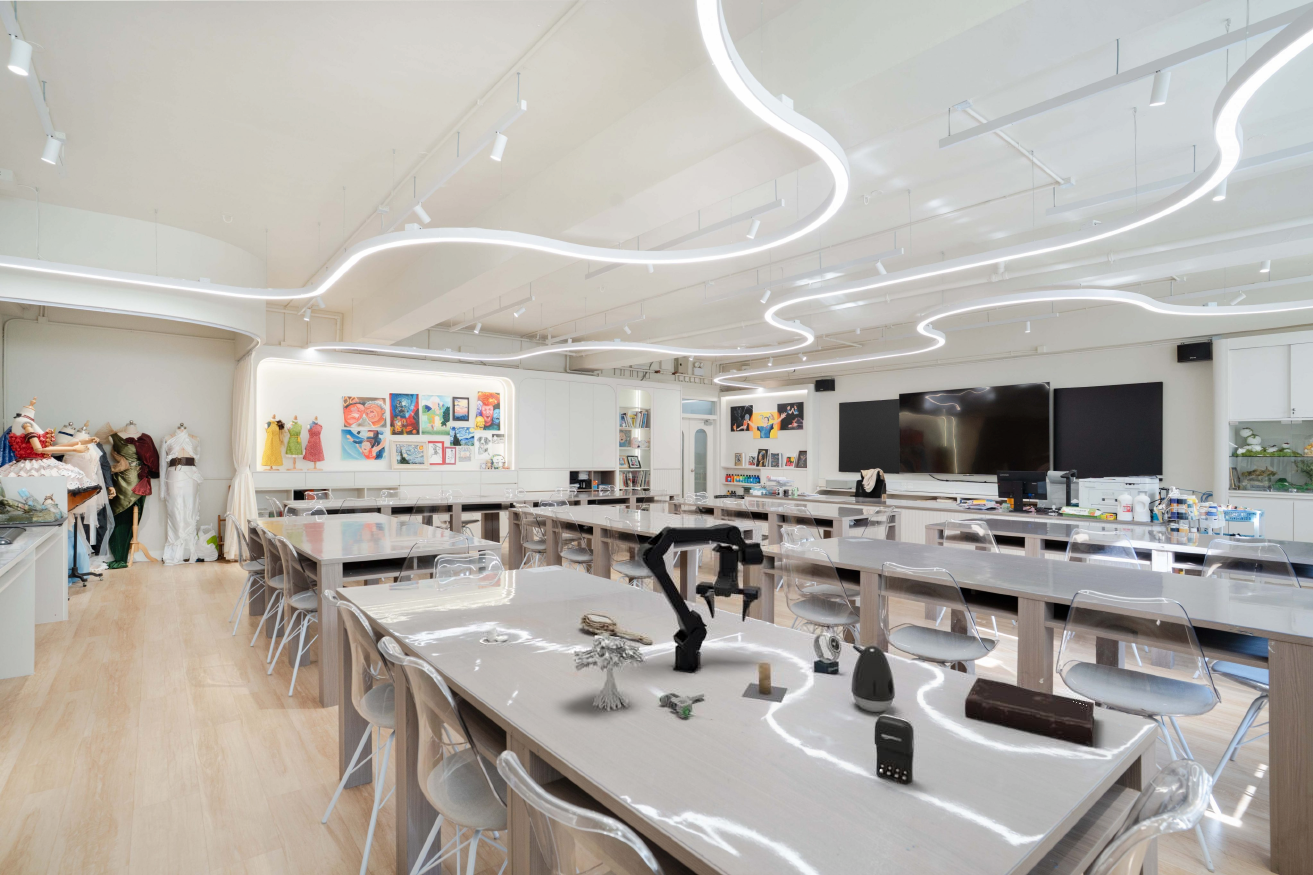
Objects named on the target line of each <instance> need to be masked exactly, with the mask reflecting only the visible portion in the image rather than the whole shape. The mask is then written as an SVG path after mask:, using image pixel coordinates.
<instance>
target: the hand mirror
mask: <svg viewBox="0 0 1313 875" xmlns="http://www.w3.org/2000/svg"><path fill="white" fill-rule="evenodd" d="M580 620H581V622H580V625H581V627H582V628H583V629H584V630H587V631H590V632H591V633H595V634H597V635H599V634H601V633H602V634H604V633H605V634H606V633H608V634H610V635H609V636H611V635H612V636H615V635H617V634H619V635H624V636H627V637H629V638H632V639H633V640H636V641H640V642H641V643H642V644H645V645H651V644H653V643H654V641H653V639H652V638H649V637H648V636H642V635H640V634H638V633H637V634H636V633H633V632H630V631H629V632H628V631H627V630H625V629H623V628H622V627H619V625H618V623H617V622H616V619H614V618H612V617H611V616H609V615H605V614H600V613H595V612H589V613H585V614H584V615H583V616H582V617H581V619H580Z"/></svg>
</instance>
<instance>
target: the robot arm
mask: <svg viewBox="0 0 1313 875" xmlns="http://www.w3.org/2000/svg"><path fill="white" fill-rule="evenodd" d="M675 542H715V543H716V545H715V546H713V547H712V548H711V551H712V552H714V553H718V571H717V578H716V579H715V581H714V583H713V582H711V581H710V582H709V581H700V582H699V583H698V584H697V585H696V586H695V594H696V595H699V597H700V598H703V599H704V601H705V603H706V605H707V608H708V611H709V613H710V616H711V619H715V610H716V608H715V597H723V598H730V597H731V596H732V595H738V596H739V595H741V596H743V597H744V598H743V600H742V602H743V603H742V604H743V606H742V616H741V617H742V622H743V623H744V622H745V620H746V619H747V618H746V617H747V614H748V612H749V609H750V606H751V605H752V603H754V602H756V600H757V601H758V600H760V598H761V597H762V588H761V587H760V586H757V585H756V586H755V585H747V586H746V587H744V588H741V587H740V584H739V573H740V572H739V563H740V564H741V566H742V567H747V566H748V567H751V566H752V567H753V566H762V565H763V563H764V560H765V555H764V553H763V552H764V551H763V549H762V547H761V543H760V542H758V541H755V542H748V543H747V542H746V540H745V539H744V538H743V536H742V532H741V529H740V528H739V527H738V526H736V525H733V524H730V523H725V522H724V523H718V524H714V525H711V526H706V527H705V526H704V527H703V526H699V527H698V526H693V527H692V526H690V527H689V526H688V527H687V526H684V527H683V526H681V527H680V526H673V527H672V526H669V525H668V526H665V527H663V528H662V529H661V530H660V531H659V532H658V533H656V534H655V535H654V536H653V537H652V538H650V539H649V540H648V541H647V542H646V543H644V544H641V545H640V546H638V548H637V550H636V552H635V554H636V555H635V556H636V559H637V560H638V562H640V564H641V565H642V566H643V567H644V568H645V569H646V570H647V572H649V574H651V576H652V577H653V578H654V580H655V582H656V583H657V585H658V587H659V588H660V590H661V591H662V593H663V595H664V597H665V599H666V600H667V602H668V603H669V606H670V607H671V609H672V610H673V612H674V614H675V615H676V619H677V624H678V627H679V629H678V630H677V631H676V632H675V634H673V636H672V637H673V638H672V639H673V641H674V643H675V644H676V645H675V648H674V652H675V653H674V655H675V656H674V657H675V658H674V666H673V667H672V670H674V671H679V672H686V673H687V672H688V673H695V672H696V671H697V670H698V669H700V667H701V655H702V653H701V652H700V650H701V647H702V644H703V641H705V640H706V638H707V634H708V630H707V628H706V627H708V626H707V624H706V623H705V622H704V620H703V618H702V616H701V614H700V613H698V612H697V611H696V610H694V609H692V610H690V608H689V606H688V605H687V603H686V601H685V600H684V598H683V596H682V595H681V593H680V591H679V590H678V588H677V587H676V585H675V583H674V581H673V580H672V578H671V576H670V574H669V572H668V571H667V566H666V560H665V559H664V556H665V555H667V553H668V552H669V550H670V549H671V546H672V545H673V544H674V543H675ZM722 544H724V545H722ZM732 546H734V548H733V547H732ZM735 547H736V548H735Z"/></svg>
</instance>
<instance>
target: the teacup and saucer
mask: <svg viewBox="0 0 1313 875" xmlns="http://www.w3.org/2000/svg"><path fill="white" fill-rule="evenodd" d="M497 633H498V628H496V627H490V628H487V629H485V630H484V632H483V634H484V636H485V637H482V638H481V639H479V643H480V644H484V645H495V644H501V643H503V642H505V641H507V640H508V638H509V636H508V635H500V636H497V635H498V634H497ZM485 640H488V642H484V641H485ZM495 641H496V642H495ZM489 642H490V643H489Z"/></svg>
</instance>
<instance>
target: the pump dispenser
mask: <svg viewBox="0 0 1313 875" xmlns="http://www.w3.org/2000/svg"><path fill="white" fill-rule="evenodd" d="M852 648H853V649H854V651H856V652H857V653H858V654H859V656H858V658H857V660H856V663H855V665H854V669H853V671H852V677H851V685H850V686H851V687H850V690H851V691H850V692H851V694H852V696H853V700H854V701H855V703H856V704H857V706H859V707H860V708H861V709H863V710H865V711H868V712H872V713H881V712H884V711H887V710H888V709H890V707H891V706H892V703H893V701H894V699H895V698H896V696H895V695H896V690H895V689H896V688H895V682H894V676H893V672H892V669H891V666H890V663H889V661H888V660H889V659H888V657H887V656H886V654H885V653H884V650H882V648H880V647H878V646H877V645H871V644H870V645H867V646H866V647H864V648H862V647H861V646H858V644H857V645H856V644H853V645H852Z"/></svg>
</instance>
